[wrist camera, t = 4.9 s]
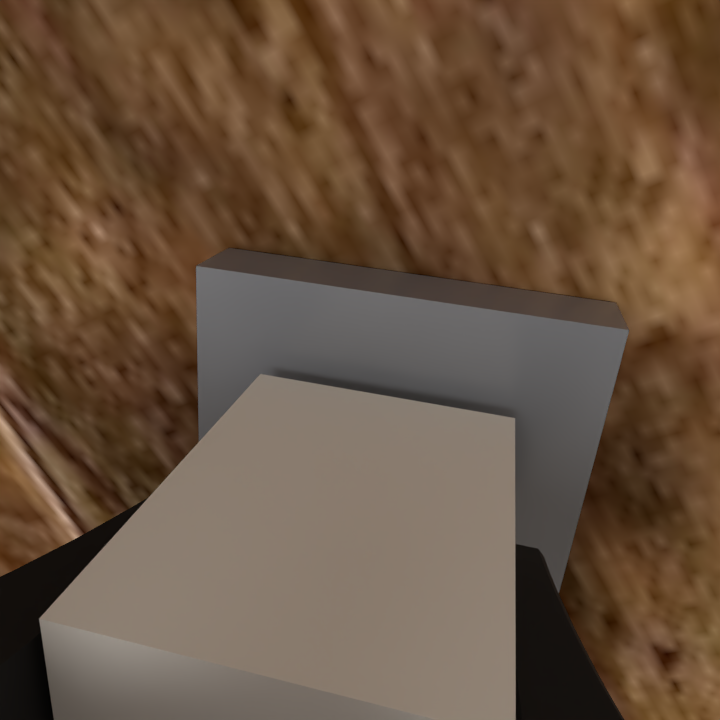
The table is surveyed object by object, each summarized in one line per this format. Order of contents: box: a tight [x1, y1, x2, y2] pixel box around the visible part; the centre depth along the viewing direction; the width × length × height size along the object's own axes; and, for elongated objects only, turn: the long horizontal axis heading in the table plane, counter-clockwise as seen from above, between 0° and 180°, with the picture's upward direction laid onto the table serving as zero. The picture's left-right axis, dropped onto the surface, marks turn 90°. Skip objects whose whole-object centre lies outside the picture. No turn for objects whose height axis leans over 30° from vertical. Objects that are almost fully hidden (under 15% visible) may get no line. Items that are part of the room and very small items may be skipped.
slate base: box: [196, 248, 629, 593], centre depth 13 cm, size 8×8×2 cm
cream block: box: [39, 374, 516, 720], centre depth 9 cm, size 4×4×6 cm
